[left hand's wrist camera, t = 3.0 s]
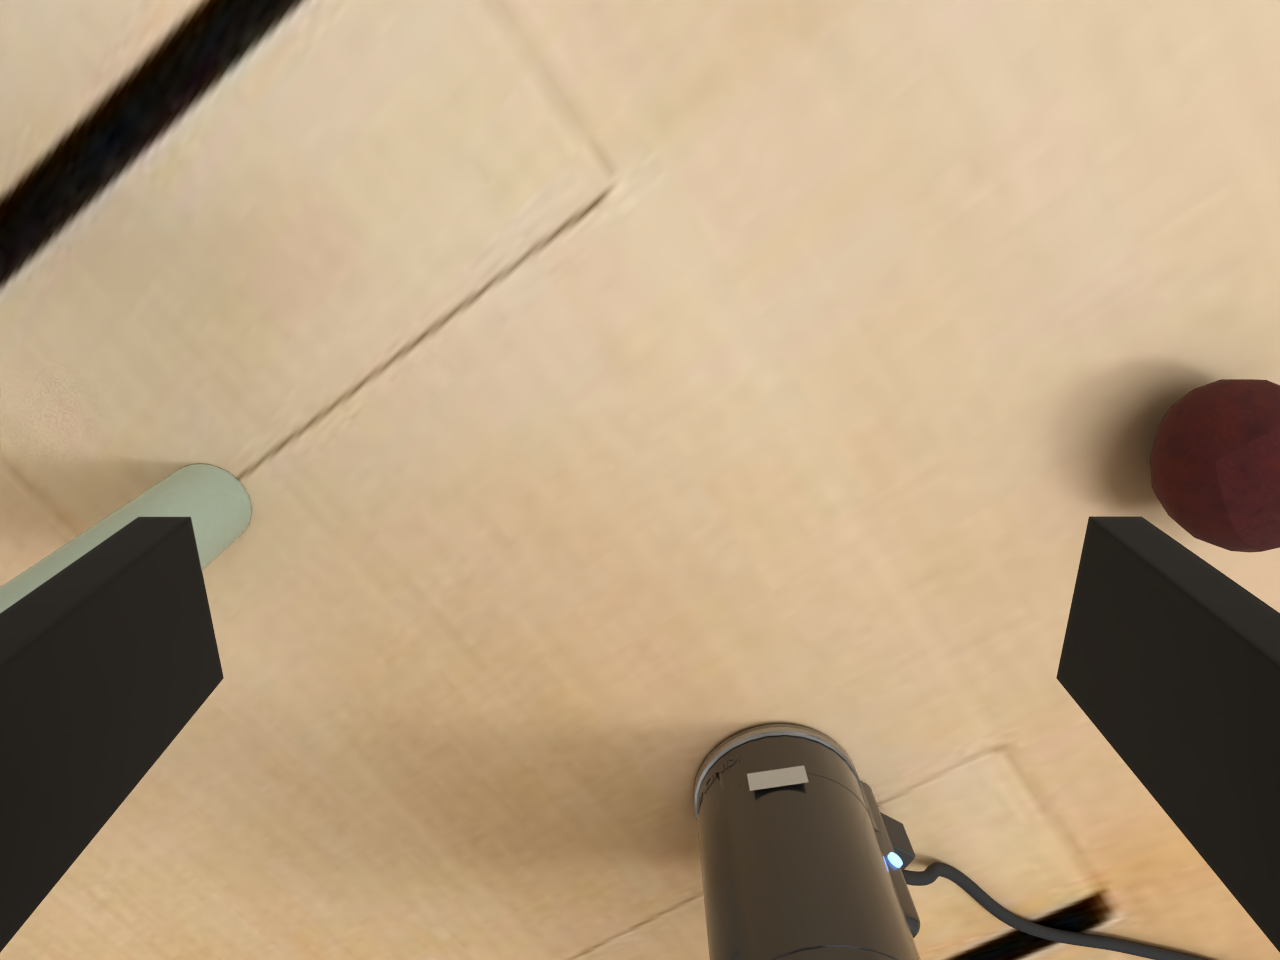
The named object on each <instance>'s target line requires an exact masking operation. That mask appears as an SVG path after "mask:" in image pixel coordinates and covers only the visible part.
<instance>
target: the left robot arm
mask: <svg viewBox="0 0 1280 960" xmlns="http://www.w3.org/2000/svg"><path fill="white" fill-rule="evenodd" d="M222 679H223V673H222V668H221V663H220V658H219V654H218V649H217V644H216V639H215V634H214V629H213V624H212V619H211V614H210V609H209V604H208V599H207V594H206V589H205V584H204V579H203V574H202V569H201V564H200V559H199V554H198V549H197V544H196V539H195V535H194V530H193V525H192V520H191V517H137V518H136V519H135V520H133V521H132V522H130V523H129V524H127V525H126V526H125V527H123V528H122V529H120V530H119V531H117V532H116V533H115V534H113V535H112V536H110V537H109V538H107V539H106V540H105V541H103V542H102V543H100V544H99V545H97V546H96V547H95V548H93V549H92V550H90V551H89V552H87V553H86V554H84V555H83V556H82V557H80V558H79V559H77V560H76V561H74V562H73V563H72V564H70V565H69V566H67V567H66V568H64V569H63V570H62V571H60V572H59V573H57V574H56V575H54V576H53V577H52V578H50V579H49V580H47V581H46V582H44V583H43V584H42V585H40V586H39V587H37V588H36V589H34V590H33V591H32V592H30V593H29V594H27V595H26V596H24V597H23V598H22V599H20V600H19V601H17V602H16V603H14V604H13V605H12V606H10V607H9V608H7V609H6V610H4V611H3V612H1V613H0V952H1V951H2V950H3V948H4V947H5V946H6V945H7V943H8V942H9V941H10V940H11V939H12V937H13V936H14V935H15V934H16V932H17V931H18V930H19V929H20V927H21V926H22V925H23V924H24V923H25V921H26V920H27V919H28V918H29V916H30V915H31V914H32V913H33V911H34V910H35V909H36V908H37V907H38V905H39V904H40V903H41V902H42V900H43V899H44V898H45V897H46V896H47V894H48V893H49V892H50V891H51V889H52V888H53V887H54V886H55V884H56V883H57V882H58V881H59V880H60V878H61V877H62V876H63V875H64V873H65V872H66V871H67V870H68V868H69V867H70V866H71V865H72V864H73V862H74V861H75V860H76V859H77V857H78V856H79V855H80V854H81V853H82V851H83V850H84V849H85V848H86V846H87V845H88V844H89V843H90V841H91V840H92V839H93V838H94V837H95V835H96V834H97V833H98V832H99V830H100V829H101V828H102V827H103V825H104V824H105V823H106V822H107V821H108V819H109V818H110V817H111V816H112V814H113V813H114V812H115V811H116V810H117V808H118V807H119V806H120V805H121V803H122V802H123V801H124V800H125V798H126V797H127V796H128V795H129V794H130V792H131V791H132V790H133V789H134V787H135V786H136V785H137V784H138V782H139V781H140V780H141V779H142V778H143V776H144V775H145V774H146V773H147V771H148V770H149V769H150V768H151V767H152V765H153V764H154V763H155V762H156V760H157V759H158V758H159V757H160V755H161V754H162V753H163V752H164V751H165V749H166V748H167V747H168V746H169V744H170V743H171V742H172V741H173V739H174V738H175V737H176V736H177V735H178V733H179V732H180V731H181V730H182V728H183V727H184V726H185V725H186V724H187V722H188V721H189V720H190V719H191V717H192V716H193V715H194V714H195V712H196V711H197V710H198V709H199V708H200V706H201V705H202V704H203V703H204V701H205V700H206V699H207V698H208V696H209V695H210V694H211V693H212V692H213V690H214V689H215V688H216V687H217V685H218V684H219V683H220V682H221V681H222ZM1057 679H1058V681H1059V682H1060V683H1061V684H1062V685H1063V687H1064V688H1065V689H1066V690H1067V692H1068V693H1069V694H1070V695H1071V696H1072V698H1073V699H1074V700H1075V701H1076V703H1077V704H1078V705H1079V706H1080V708H1081V709H1082V710H1083V711H1084V712H1085V714H1086V715H1087V716H1088V717H1089V719H1090V720H1091V721H1092V722H1093V724H1094V725H1095V726H1096V727H1097V728H1098V730H1099V731H1100V732H1101V733H1102V735H1103V736H1104V737H1105V738H1106V739H1107V741H1108V742H1109V743H1110V744H1111V746H1112V747H1113V748H1114V749H1115V751H1116V752H1117V753H1118V754H1119V755H1120V757H1121V758H1122V759H1123V760H1124V762H1125V763H1126V764H1127V765H1128V767H1129V768H1130V769H1131V770H1132V771H1133V773H1134V774H1135V775H1136V776H1137V778H1138V779H1139V780H1140V781H1141V782H1142V784H1143V785H1144V786H1145V787H1146V789H1147V790H1148V791H1149V792H1150V794H1151V795H1152V796H1153V797H1154V798H1155V800H1156V801H1157V802H1158V803H1159V805H1160V806H1161V807H1162V808H1163V810H1164V811H1165V812H1166V813H1167V814H1168V816H1169V817H1170V818H1171V819H1172V821H1173V822H1174V823H1175V824H1176V825H1177V827H1178V828H1179V829H1180V830H1181V832H1182V833H1183V834H1184V835H1185V837H1186V838H1187V839H1188V840H1189V841H1190V843H1191V844H1192V845H1193V846H1194V848H1195V849H1196V850H1197V851H1198V853H1199V854H1200V855H1201V856H1202V857H1203V859H1204V860H1205V861H1206V862H1207V864H1208V865H1209V866H1210V867H1211V868H1212V870H1213V871H1214V872H1215V873H1216V875H1217V876H1218V877H1219V878H1220V880H1221V881H1222V882H1223V883H1224V884H1225V886H1226V887H1227V888H1228V889H1229V891H1230V892H1231V893H1232V894H1233V896H1234V897H1235V898H1236V899H1237V900H1238V902H1239V903H1240V904H1241V905H1242V907H1243V908H1244V909H1245V910H1246V911H1247V913H1248V914H1249V915H1250V916H1251V918H1252V919H1253V920H1254V921H1255V923H1256V924H1257V925H1258V926H1259V927H1260V929H1261V930H1262V931H1263V932H1264V934H1265V935H1266V936H1267V937H1268V939H1269V940H1270V941H1271V942H1272V943H1273V945H1274V946H1275V947H1276V948H1277V950H1278V951H1279V952H1280V613H1279V612H1277V611H1276V610H1274V609H1273V608H1271V607H1270V606H1268V605H1267V604H1266V603H1264V602H1263V601H1261V600H1260V599H1258V598H1257V597H1256V596H1254V595H1253V594H1251V593H1250V592H1248V591H1247V590H1246V589H1244V588H1243V587H1241V586H1240V585H1238V584H1237V583H1236V582H1234V581H1233V580H1231V579H1230V578H1228V577H1227V576H1226V575H1224V574H1223V573H1221V572H1220V571H1218V570H1217V569H1216V568H1214V567H1213V566H1211V565H1210V564H1208V563H1207V562H1206V561H1204V560H1203V559H1201V558H1200V557H1198V556H1197V555H1196V554H1194V553H1193V552H1191V551H1190V550H1188V549H1187V548H1185V547H1184V546H1183V545H1181V544H1180V543H1178V542H1177V541H1175V540H1174V539H1173V538H1171V537H1170V536H1168V535H1167V534H1165V533H1164V532H1163V531H1161V530H1160V529H1158V528H1157V527H1155V526H1154V525H1153V524H1151V523H1150V522H1148V521H1147V520H1145V519H1144V518H1143V517H1089V520H1088V525H1087V530H1086V535H1085V539H1084V544H1083V549H1082V554H1081V559H1080V564H1079V569H1078V574H1077V579H1076V584H1075V589H1074V594H1073V599H1072V604H1071V609H1070V614H1069V619H1068V624H1067V629H1066V634H1065V639H1064V644H1063V649H1062V654H1061V658H1060V663H1059V668H1058V673H1057Z"/></svg>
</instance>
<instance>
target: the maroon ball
mask: <svg viewBox="0 0 1280 960" xmlns="http://www.w3.org/2000/svg"><path fill="white" fill-rule="evenodd" d="M1150 467H1151V479H1152V488H1153V490H1154V492H1155V494H1156V496H1157V498H1158V499H1159V501H1160V503H1161V504H1162V506H1163V507H1164V509H1165V510H1166V512H1167V513H1168V515H1169V516H1170V517H1171V518H1172V519H1173V520H1175V521H1176V522H1177V523H1178V524H1179V525H1180V526H1181V527H1183V528H1184V529H1185V530H1186V531H1187V532H1189V533H1190V534H1191V535H1192V536H1193V537H1195V538H1197V539H1200V540H1202V541H1205V542H1208V543H1210V544H1213V545H1216V546H1219V547H1221V548H1224V549H1227V550H1230V551H1240V552H1261V551H1266V550H1270V549H1275V548H1279V547H1280V385H1277V384H1275V383H1272V382H1270V381H1267V380H1219V381H1216V382H1213V383H1210V384H1207V385H1205V386H1202V387H1199V388H1196V389H1194V390H1192V391H1190V392H1189V393H1187V394H1186V395H1185V396H1184V397H1182V398H1181V399H1180V400H1179V401H1178V402H1176V403H1175V404H1174V405H1173V406H1172V407H1171V408H1170V410H1169V411H1168V413H1167V414H1166V416H1165V417H1164V419H1163V420H1162V422H1161V424H1160V425H1159V429H1158V432H1157V436H1156V439H1155V443H1154V446H1153V450H1152V454H1151V458H1150Z"/></svg>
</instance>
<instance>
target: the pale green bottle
mask: <svg viewBox="0 0 1280 960" xmlns="http://www.w3.org/2000/svg"><path fill="white" fill-rule="evenodd" d="M137 517H191V520H192V525H193V530H194V535H195V539H196V544H197V549H198V554H199V559H200V564H201V569H202V570H203V569H204V568H205V567H206V566H207V565H208V564H209V563H211V562H212V561H213V560H214V559H215V558H216V557H217V556H218V555H219V554H220V553H221V552H222V551H224V550H225V549H226V548H227V547H228V546H229V545H230V544H231V543H232V542H233V541H234V540H235V539H237V538H238V537H239V536H240V535H241V534H242V533H243V532H244V531H245V529H246V528H247V526H248V524H249V521H250V517H251V504H250V499H249V497H248V494H247V492H246V490H245V489H244V487H243V486H242V484H241V483H240V482H239V481H238V480H237V479H236V478H235V477H234V476H232V475H231V474H230V473H228V472H227V471H225V470H223V469H221V468H218V467H215V466H212V465H206V464H194V465H189V466H186V467H183V468H181V469H179V470H178V471H176V472H175V473H173V474H172V475H170V476H169V477H167V478H166V479H164V480H163V481H161V482H159V483H158V484H156V485H155V486H153V487H152V488H150V489H149V490H147V491H146V492H144V493H143V494H141V495H140V496H138V497H137V498H135V499H134V500H132V501H131V502H129V503H128V504H126V505H125V506H123V507H121V508H120V509H118V510H117V511H115V512H114V513H112V514H111V515H109V516H108V517H106V518H105V519H103V520H102V521H100V522H99V523H97V524H96V525H94V526H93V527H91V528H90V529H88V530H87V531H85V532H83V533H82V534H80V535H79V536H77V537H76V538H74V539H73V540H71V541H70V542H68V543H67V544H65V545H64V546H62V547H61V548H59V549H58V550H56V551H55V552H53V553H52V554H50V555H49V556H47V557H45V558H44V559H42V560H41V561H39V562H38V563H36V564H35V565H33V566H32V567H30V568H29V569H27V570H26V571H24V572H23V573H21V574H20V575H18V576H17V577H15V578H14V579H12V580H11V581H9V582H8V583H6V584H4V585H3V586H1V587H0V613H1V612H3V611H4V610H6V609H7V608H9V607H10V606H12V605H13V604H14V603H16V602H17V601H19V600H20V599H22V598H23V597H24V596H26V595H27V594H29V593H30V592H32V591H33V590H34V589H36V588H37V587H39V586H40V585H42V584H43V583H44V582H46V581H47V580H49V579H50V578H52V577H53V576H54V575H56V574H57V573H59V572H60V571H62V570H63V569H64V568H66V567H67V566H69V565H70V564H72V563H73V562H74V561H76V560H77V559H79V558H80V557H82V556H83V555H84V554H86V553H87V552H89V551H90V550H92V549H93V548H95V547H96V546H97V545H99V544H100V543H102V542H103V541H105V540H106V539H107V538H109V537H110V536H112V535H113V534H115V533H116V532H117V531H119V530H120V529H122V528H123V527H125V526H126V525H127V524H129V523H130V522H132V521H133V520H135V519H136V518H137Z"/></svg>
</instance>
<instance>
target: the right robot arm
mask: <svg viewBox="0 0 1280 960" xmlns="http://www.w3.org/2000/svg"><path fill="white" fill-rule="evenodd" d="M694 805H695V814H696V819H697V822H698V831H699V843H700V857H701V868H702V879H703V890H704V901H705V912H706V923H707V934H708V946H709V957H710V960H921V959H920V957H919V954H918V951H917V948H916V945H915V942H914V940H913V938H914V937H915V936H916V935H917V933H918V932H919V929H920V920H919V917H918V914H917V911H916V909H915V906H914V903H913V900H912V898H911V895H910V892H909V890H908V887H907V884H908V885H917V886H922V885H928V884H930V883H933V882H934V881H935V880H936V879H937V878H938V876H942V877H945V878H947V879H950V880H951V881H953V882H955V883H956V884H957V885H959V886H960V887H961V888H963V889H964V890H965V891H966V892H967V893H968V894H969V895H971V896H972V897H973V898H974V899H975V900H976V901H977V902H978V903H979V904H981V905H982V906H983V907H984V908H985V909H986V910H987V911H989V912H990V913H991V914H993V915H994V916H995V917H997V918H998V919H999V920H1001V921H1002V922H1004V923H1006V924H1008V925H1009V926H1011V927H1013V928H1015V929H1018V930H1020V931H1022V932H1025V933H1028V934H1031V935H1034V936H1037V937H1040V938H1043V939H1047V940H1051V941H1056V942H1061V943H1066V944H1072V945H1079V946H1086V947H1093V948H1099V949H1106V950H1112V951H1117V952H1122V953H1127V954H1132V955H1136V956H1141V957H1145V958H1150V959H1154V960H1207V959H1204V958H1200V957H1196V956H1192V955H1188V954H1184V953H1180V952H1175V951H1171V950H1166V949H1162V948H1157V947H1152V946H1148V945H1143V944H1139V943H1134V942H1130V941H1125V940H1120V939H1116V938H1110V937H1104V936H1098V935H1091V934H1084V933H1077V932H1071V931H1065V930H1059V929H1054V928H1050V927H1046V926H1042V925H1039V924H1036V923H1033V922H1030V921H1027V920H1025V919H1022V918H1020V917H1018V916H1016V915H1014V914H1013V913H1011V912H1009V911H1008V910H1006V909H1005V908H1003V907H1002V906H1001V905H999V904H998V903H997V902H996V901H994V900H993V899H992V898H991V897H990V896H989V895H987V894H986V893H985V892H984V891H983V890H982V889H981V888H980V887H979V886H977V885H976V884H975V883H974V882H973V881H972V880H971V879H969V878H968V877H967V876H966V875H964V874H963V873H961V872H960V871H958V870H957V869H955V868H953V867H951V866H948V865H945V864H942V863H933V864H931V865H929V866H928V867H927V868H926V870H925V871H921V872H916V871H908V870H904V869H905V868H906V867H907V866H908V864H909V863H910V862H911V861H912V860H913V859H914V858H915V854H914V851H913V849H912V846H911V844H910V841H909V839H908V836H907V834H906V831H905V829H904V826H903V824H902V823H900V822H898V821H896V820H894V819H892V818H890V817H888V816H886V815H884V814H882V813H880V812H879V809H878V806H877V803H876V801H875V798H874V795H873V793H872V790H871V787H870V786H868V785H866V784H864V783H863V782H861V781H860V780H859V778H858V775H857V772H856V769H855V767H854V764H853V762H852V760H851V759H850V757H849V756H848V754H847V753H846V752H845V750H844V749H843V748H842V747H841V746H840V745H839V744H838V743H836V742H835V741H834V740H832V739H831V738H830V737H828V736H826V735H824V734H823V733H820V732H818V731H816V730H813V729H810V728H807V727H803V726H798V725H791V724H770V725H763V726H758V727H754V728H750V729H748V730H745V731H742V732H740V733H738V734H735V735H734V736H732V737H730V738H728V739H727V740H725V741H724V742H722V743H721V744H720V745H719V746H717V747H716V748H715V749H714V750H713V751H712V752H711V753H710V754H709V756H708V757H707V758H706V759H705V761H704V762H703V764H702V766H701V768H700V769H699V772H698V774H697V777H696V780H695V785H694Z"/></svg>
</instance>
